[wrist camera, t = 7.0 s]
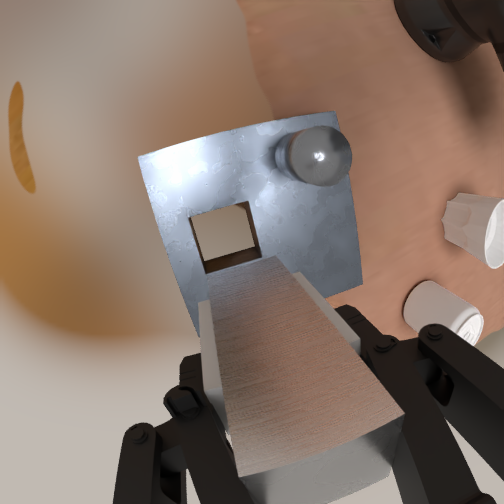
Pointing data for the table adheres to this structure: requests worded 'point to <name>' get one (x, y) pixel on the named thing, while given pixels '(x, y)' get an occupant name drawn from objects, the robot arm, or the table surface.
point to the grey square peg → (296, 392)
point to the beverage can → (442, 311)
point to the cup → (476, 226)
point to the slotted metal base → (261, 201)
